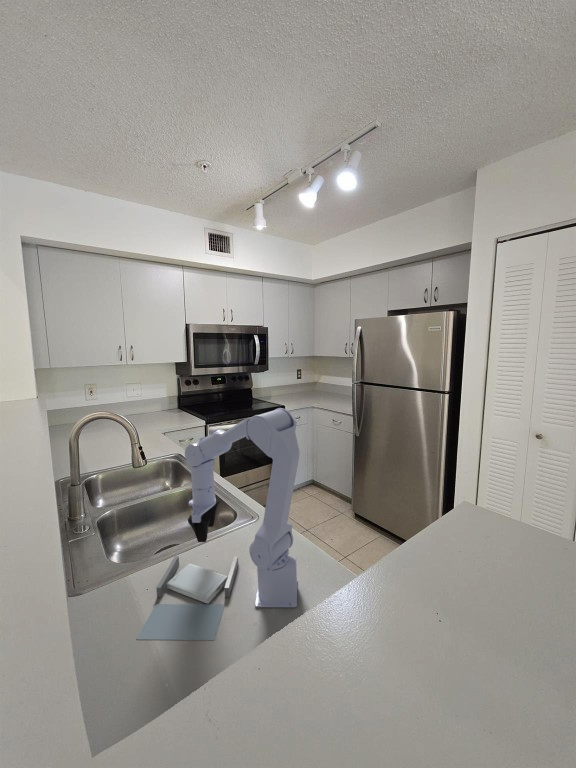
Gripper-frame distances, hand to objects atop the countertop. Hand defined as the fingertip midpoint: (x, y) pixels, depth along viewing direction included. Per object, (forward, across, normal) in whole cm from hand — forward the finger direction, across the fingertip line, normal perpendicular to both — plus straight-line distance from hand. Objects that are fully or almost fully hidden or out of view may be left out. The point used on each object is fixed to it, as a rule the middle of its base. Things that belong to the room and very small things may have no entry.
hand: (206, 533), depth 88 cm
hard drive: (+9, +8, 0) cm, 12 cm away
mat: (+8, +19, 0) cm, 21 cm away
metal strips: (+8, +7, 0) cm, 11 cm away
